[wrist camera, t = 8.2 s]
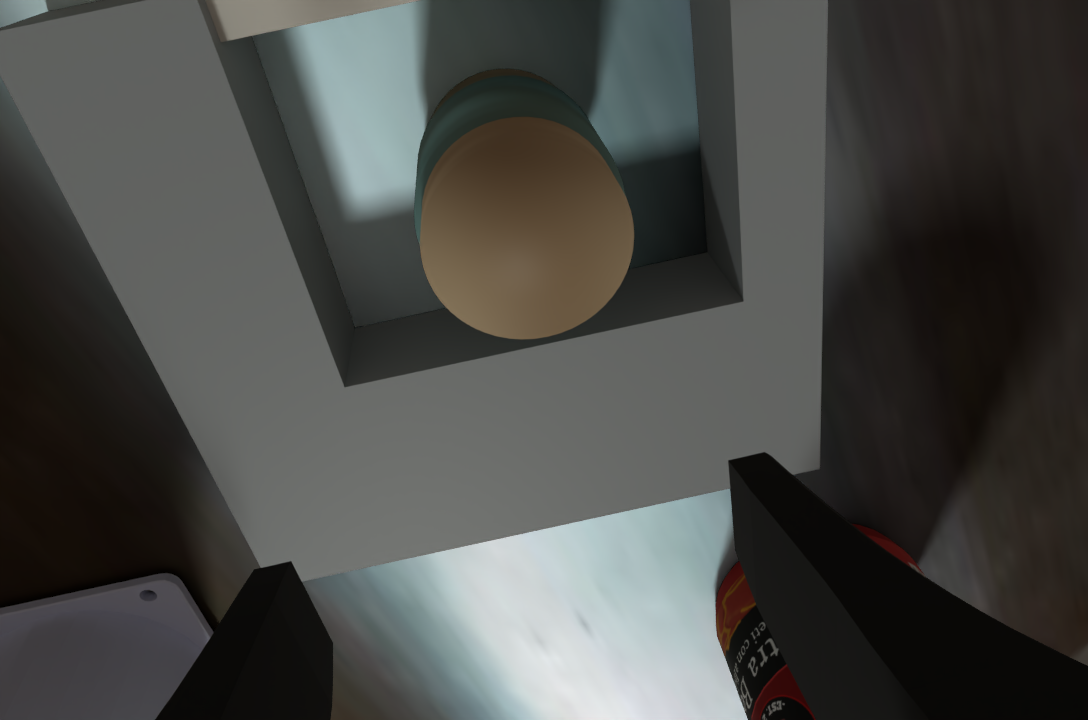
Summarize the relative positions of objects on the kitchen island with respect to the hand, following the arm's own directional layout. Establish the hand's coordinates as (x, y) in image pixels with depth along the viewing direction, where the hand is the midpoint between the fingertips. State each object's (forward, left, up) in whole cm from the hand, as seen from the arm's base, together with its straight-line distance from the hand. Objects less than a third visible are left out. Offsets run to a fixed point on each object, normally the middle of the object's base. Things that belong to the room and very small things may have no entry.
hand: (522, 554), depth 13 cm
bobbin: (+1, +3, -10) cm, 11 cm away
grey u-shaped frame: (0, +1, -10) cm, 10 cm away
